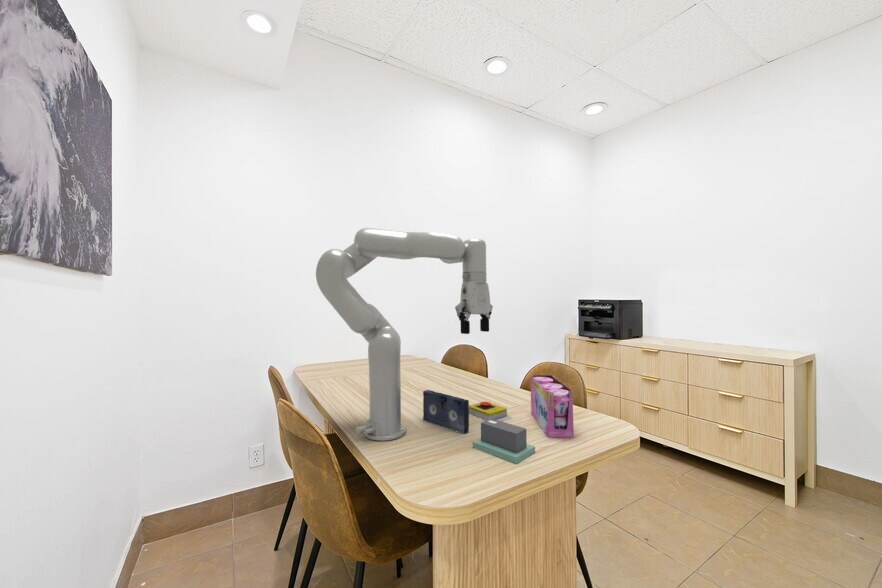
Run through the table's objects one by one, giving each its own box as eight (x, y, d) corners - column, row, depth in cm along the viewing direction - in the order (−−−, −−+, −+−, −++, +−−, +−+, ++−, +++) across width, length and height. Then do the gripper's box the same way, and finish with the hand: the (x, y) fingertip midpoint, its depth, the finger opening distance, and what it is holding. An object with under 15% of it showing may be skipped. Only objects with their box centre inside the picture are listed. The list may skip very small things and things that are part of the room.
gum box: (576, 439, 100) (575, 392, 100) (548, 439, 100) (547, 392, 100) (552, 412, 124) (551, 374, 124) (530, 412, 124) (529, 374, 124)
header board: (516, 463, 85) (516, 445, 85) (472, 447, 95) (472, 430, 95) (535, 452, 92) (534, 435, 92) (492, 437, 102) (492, 422, 102)
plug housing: (516, 453, 88) (516, 433, 88) (480, 440, 96) (480, 422, 96) (526, 447, 91) (526, 428, 91) (491, 435, 99) (491, 417, 99)
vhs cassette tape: (469, 432, 106) (469, 399, 106) (463, 435, 104) (462, 401, 104) (429, 418, 119) (429, 389, 120) (422, 420, 117) (422, 391, 117)
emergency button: (482, 396, 131) (512, 406, 119) (482, 408, 131) (513, 419, 119) (463, 401, 125) (494, 411, 113) (464, 413, 125) (494, 425, 113)
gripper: (465, 276, 101) (466, 335, 101) (500, 279, 113) (500, 331, 113) (447, 278, 106) (447, 333, 106) (482, 280, 119) (482, 330, 118)
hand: (475, 332), depth 109 cm, fingers open, 9 cm apart
